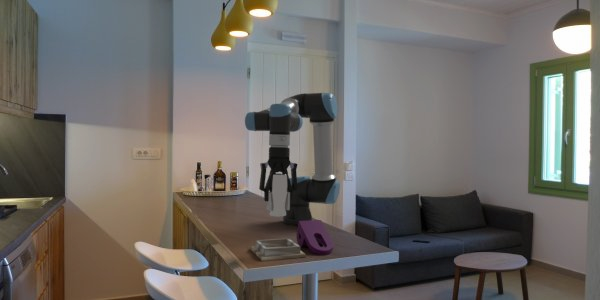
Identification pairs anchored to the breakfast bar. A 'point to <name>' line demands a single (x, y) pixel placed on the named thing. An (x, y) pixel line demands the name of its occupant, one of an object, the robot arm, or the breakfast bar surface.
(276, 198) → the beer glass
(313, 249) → the mounting bracket
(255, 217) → the breakfast bar surface
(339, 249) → the breakfast bar surface
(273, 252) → the cup holder
